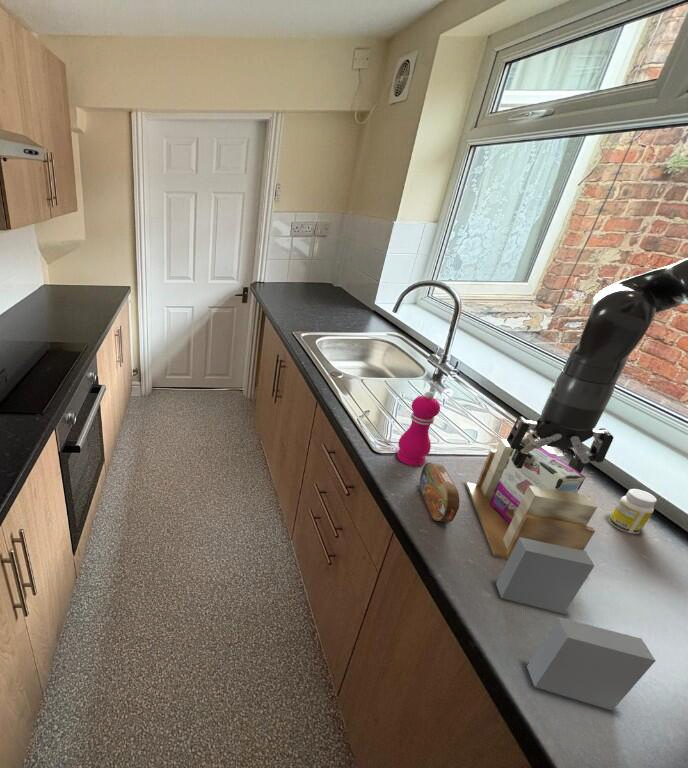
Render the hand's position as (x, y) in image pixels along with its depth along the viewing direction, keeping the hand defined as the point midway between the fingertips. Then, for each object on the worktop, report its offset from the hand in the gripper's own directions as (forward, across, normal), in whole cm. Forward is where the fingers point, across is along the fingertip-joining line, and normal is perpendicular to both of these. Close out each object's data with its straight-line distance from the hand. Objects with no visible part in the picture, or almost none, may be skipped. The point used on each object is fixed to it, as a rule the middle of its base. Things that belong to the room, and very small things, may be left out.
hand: (542, 470), depth 81 cm
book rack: (+15, 0, 0) cm, 15 cm away
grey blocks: (+15, -4, -27) cm, 31 cm away
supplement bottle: (+15, +21, +7) cm, 27 cm away
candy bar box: (+14, 0, 0) cm, 14 cm away
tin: (+15, -15, +1) cm, 21 cm away
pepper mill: (+15, -18, +18) cm, 29 cm away
